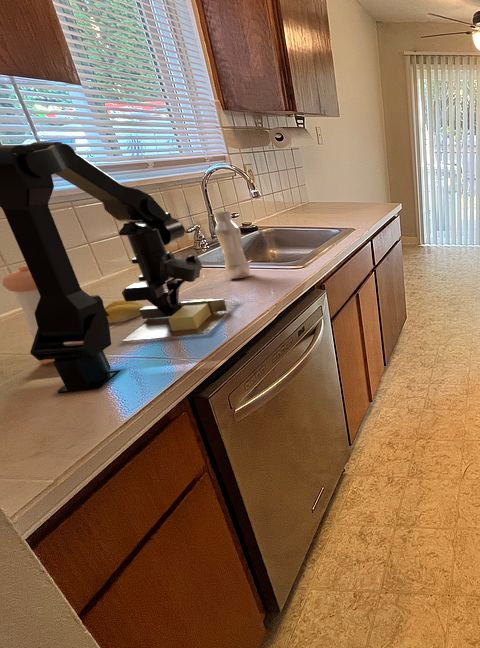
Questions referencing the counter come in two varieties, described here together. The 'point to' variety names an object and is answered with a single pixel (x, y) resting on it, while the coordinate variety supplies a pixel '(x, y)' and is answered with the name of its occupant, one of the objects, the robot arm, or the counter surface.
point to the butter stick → (189, 317)
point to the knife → (156, 313)
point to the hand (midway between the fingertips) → (173, 314)
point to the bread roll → (123, 310)
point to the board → (163, 329)
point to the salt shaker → (26, 297)
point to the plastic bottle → (231, 246)
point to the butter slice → (201, 299)
